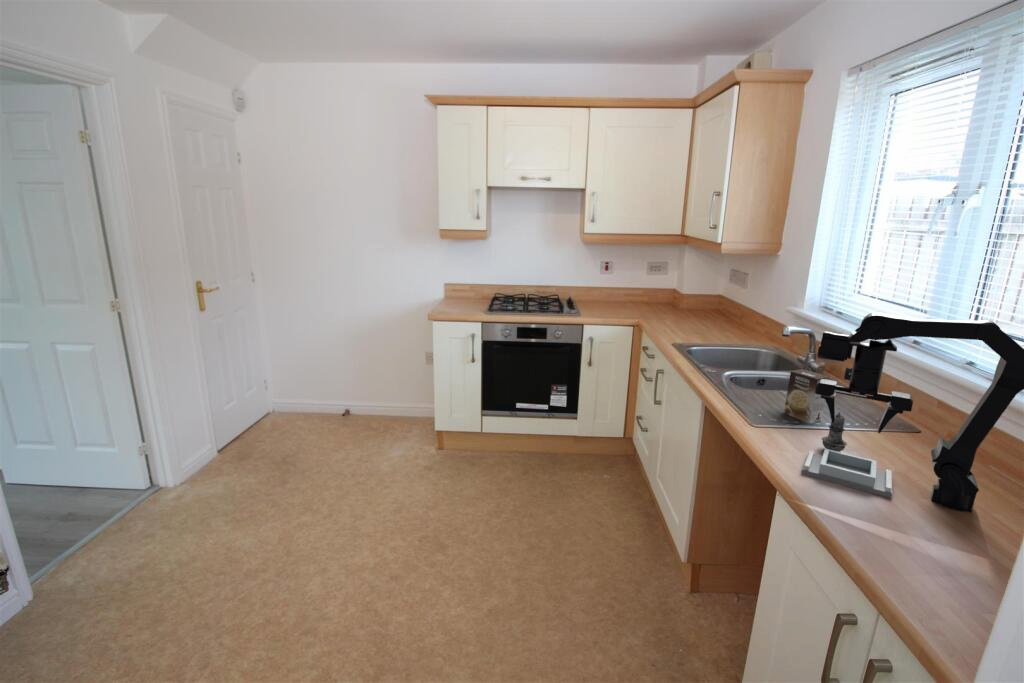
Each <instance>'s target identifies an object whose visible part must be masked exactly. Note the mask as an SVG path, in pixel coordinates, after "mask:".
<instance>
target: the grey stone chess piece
mask: <svg viewBox="0 0 1024 683" xmlns="http://www.w3.org/2000/svg"><path fill="white" fill-rule="evenodd" d="M845 419H846V418H845V417H844V416H843V415H841V412H840V411H839V412H837V414H836V416H835V421H834V423H832V420H831V421H830V425H829V426H828V428H829V431H828V434H827V436H822V437H821V440H822V445H823V447H824V449H823V450H822V451H823V452H824V451H825V449H829V450H833V451H837V452H842V451H844V449H845V448H846V446H847V445H848V443H847V442H846V441H845V440H843V433H844V431H845V430H846V429H845V428H844V427H845V426H844V425H845Z"/></svg>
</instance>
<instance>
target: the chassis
mask: <svg viewBox="0 0 1024 683" xmlns="http://www.w3.org/2000/svg"><path fill="white" fill-rule="evenodd" d="M824 449H825V451H823V453H822V455H819V454H815V451H814V450H809V452H808V454H807V455H806V459H805V462H804V464H803V466H802V469H801V474H802V475H805V476H808V477H812V478H816V479H819V480H823V481H826V482H830V483H832V484H833V483H834V484H837V485H841V486H844V487H847V488H848V487H849V488H853V489H854V490H855V489H856V490H859V491H863V492H867V493H870V494H873V495H878V496H881V497H884V498H887V499H892V497H893V473H892V470H891V469H885V471H883V470H879V469H877V462H878V461H877V460H874V459H870V458H865V457H862V456H859V455H858V456H857V455H854V454H849V453H845V452H842V451H840V452H837V451H833V450H829V449H826V448H824Z"/></svg>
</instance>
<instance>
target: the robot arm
mask: <svg viewBox="0 0 1024 683" xmlns="http://www.w3.org/2000/svg"><path fill="white" fill-rule="evenodd" d="M908 337H909V338H910V337H914V338H915V337H916V338H932V339H934V338H935V339H936V338H937V339H953V340H956V339H958V340H972V341H973V340H974V341H982V342H983V343H984V344H985V345H987V347H989V348H990V349H991V350H992V351H993V352H994V353H996V355H997V356H999V359H998V362H997V365H996V368H995V371H994V373H993V374H994V375H993V379H992V382H991V384H990V385H989V386H988V388H987V389H986V391H985V392H984V394H983V395H982V397H981V398H980V399H979V401H978V403H977V404H976V405H975V407H974V408H973V410H972V411H970V414H969V415H968V417H967V418H966V419H965V421H964V423H963V424H962V426H961V427H960V429H959V430H958V431H957V433H956V434H955V435H954V436H953V437H952V438H950V439H949V440H946V439H943V438H941V437H939V440H938V442H937V445H936V446H935V447H934V448H933V449H932V450H930V455H931V461H932V462H931V463H932V469H933V472H934V474H935V476H936V477H937V478H938V479H937V482H936V484H933V485H932V489H931V492H930V501H931V502H933V503H936V504H939V505H941V506H942V507H945V508H946V509H950V510H952V511H957V512H968V513H972V512H973V508H974V505H975V501H976V497H977V493H978V492H980V490H979V489H980V488H979V486H978V484H977V481H976V476H975V474H974V473H973V472H972V471H971V469H972V467H973V464H974V461H975V457H976V452H977V450H978V448H980V446H981V444H982V443H983V442H984V440H985V439H986V437H987V436H988V435H989V433H990V431H991V430H992V429H993V428H994V426H995V425H996V423H997V422H998V421H999V420H1000V418H1001V417H1002V415H1003V414H1004V413H1005V410H1006V409H1007V408H1008V407H1009V405H1010V404H1011V403H1012V401H1013V400H1014V399H1015V397H1016V396H1017V395H1018V394H1019V393H1020V392H1022V391H1023V390H1024V345H1022V344H1019V343H1018V342H1017V341H1015V339H1013V338H1012V337H1011V336H1009V335H1008V334H1007V333H1005V332H1004V331H1003V330H1002V329H1001V327H1000V326H999V325H998V324H997V323H995V322H994V321H992V320H988V319H983V320H963V319H961V320H960V319H958V320H956V319H935V318H934V319H929V318H928V319H927V318H911V317H905V316H900V315H896V314H892V313H885V312H880V311H879V312H878V311H877V312H876V311H875V312H870V313H868V314H866V315H865V316H863V319H862V320H861V324H860V325H859V327H857V328H855V330H852V332H851V333H850V334H842V333H836V332H835V333H834V332H831V331H826V330H825V331H823V333H822V337H821V340H820V344H819V346H818V351H817V357H816V358H817V359H819V360H827V361H832V362H839V363H845V362H846V361H848V360H851V359H852V354H853V350H854V347H855V353H854V357H853V358H854V359H853V363H852V367H845V371H844V377H843V380H844V381H847V382H849V384H848V387H847V386H842V385H839V384H838V381H837V380H831V379H829V380H826V379H820V380H819V381H818V383H817V385H816V390H815V393H816V394H819V395H821V398H823V399H825V402H826V405H827V407H828V411H829V416H830V420H831V421H832V423H834V421H835V416H836V415H837V414H836V412H837V411H836V410H837V409H836V408H837V394H839V395H843V396H844V395H845V396H850V397H854V398H855V397H856V398H862V399H867V400H872V401H877V402H881V403H882V402H883V403H886V406H885V409H884V412H883V415H882V417H881V419H880V422H879V425H878V428H877V433H878V434H881V433H882V431H883V430H884V429H885V427H886V426H887V424H888V423H889V422H890V421H891V420H892V419H893V418H894V417H895V416H896V415H897V414H901V415H903V413H904V412H912V410H913V405H914V397H913V396H912V394H910V393H906V392H901V391H895V390H891V393H890V394H888V393H887V394H886V393H882V392H879V388H880V383H881V378H882V374H883V368H884V365H885V360H886V355H887V351H890V352H897V351H898V346H897V345H896V344H894V342H893V341H892V340H894V339H900V338H908ZM868 340H869V342H865V341H868ZM883 340H885V341H883ZM837 384H838V385H837Z"/></svg>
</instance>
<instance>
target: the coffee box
mask: <svg viewBox="0 0 1024 683" xmlns="http://www.w3.org/2000/svg"><path fill="white" fill-rule="evenodd" d="M820 379H826V380H830V376H827V375H824V374H820V373H817V372H815V371H814V372H813V371H810V370H807V369H804V368H802V369H801V368H800V369H795V370H791V371H790V373H789V380H788V386H787V393H786V397H785V398H786V399H785V405H784V410H783V413H784V414H786V415H788V416H790V417H793V418H795V419H796V420H800V421H801V422H804V423H806V424H808V423H811V424H815V422H816V423H818V422H819V423H820V422H821V421H822V418H823V413H824V407H825V402H826V400H825V399H823V398H821V395H819V394H816V393H815V390H816V385H817V383H818V381H819V380H820Z"/></svg>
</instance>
